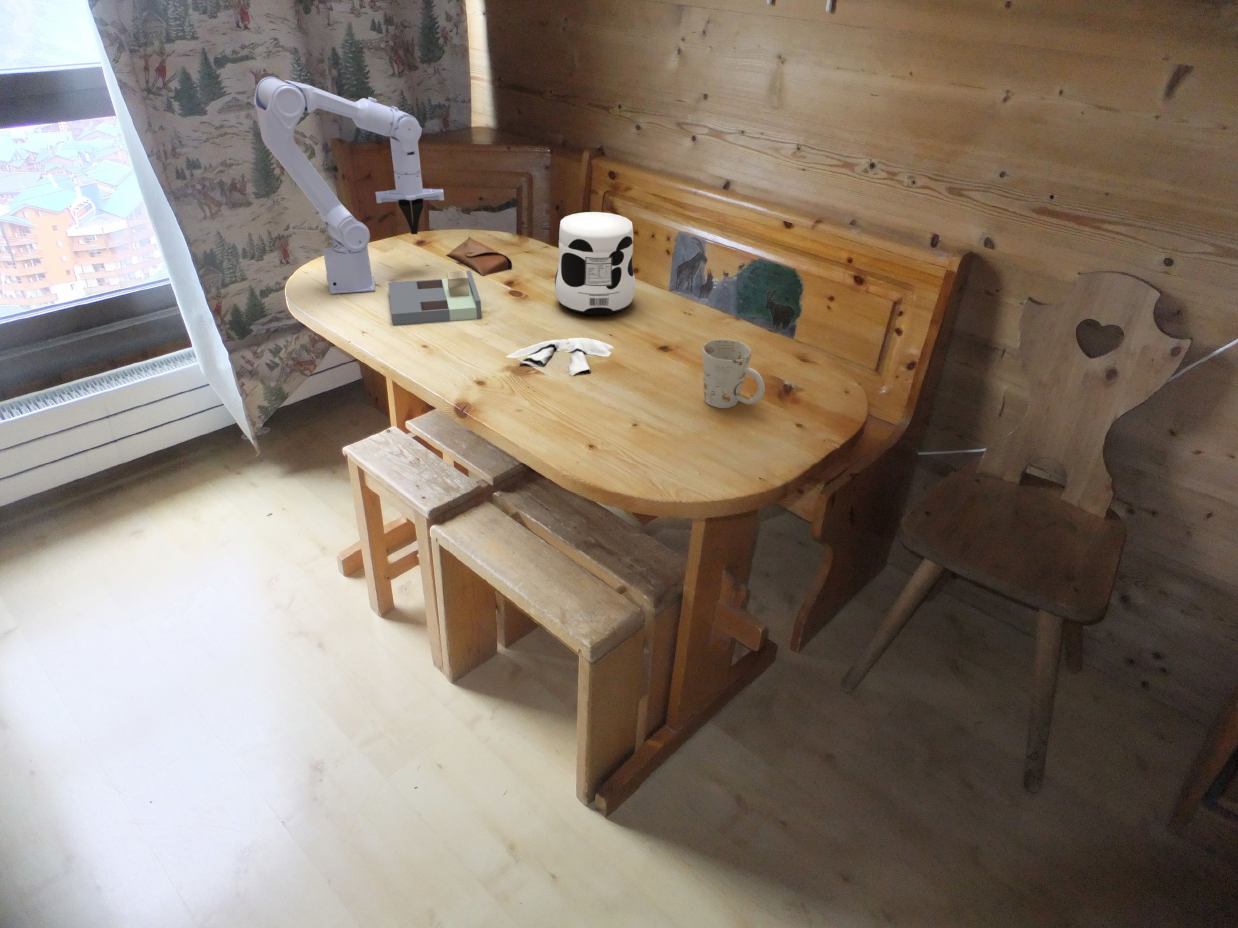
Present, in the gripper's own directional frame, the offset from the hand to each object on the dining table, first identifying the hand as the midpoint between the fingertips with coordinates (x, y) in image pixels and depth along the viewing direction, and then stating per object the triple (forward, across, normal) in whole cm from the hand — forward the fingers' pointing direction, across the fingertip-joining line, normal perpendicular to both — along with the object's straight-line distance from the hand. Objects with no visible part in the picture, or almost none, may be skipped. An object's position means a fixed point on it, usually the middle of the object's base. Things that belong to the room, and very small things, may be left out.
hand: (414, 233), depth 183 cm
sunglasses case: (+10, +14, +5) cm, 18 cm away
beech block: (+7, +8, -20) cm, 22 cm away
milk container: (+10, +36, -26) cm, 45 cm away
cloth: (+10, +23, -49) cm, 56 cm away
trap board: (+9, +1, -20) cm, 22 cm away
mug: (+10, +49, -72) cm, 88 cm away
